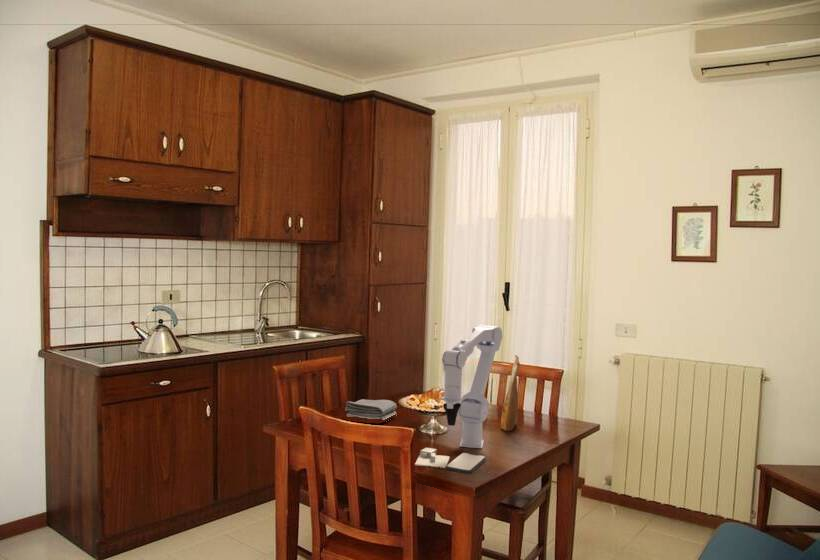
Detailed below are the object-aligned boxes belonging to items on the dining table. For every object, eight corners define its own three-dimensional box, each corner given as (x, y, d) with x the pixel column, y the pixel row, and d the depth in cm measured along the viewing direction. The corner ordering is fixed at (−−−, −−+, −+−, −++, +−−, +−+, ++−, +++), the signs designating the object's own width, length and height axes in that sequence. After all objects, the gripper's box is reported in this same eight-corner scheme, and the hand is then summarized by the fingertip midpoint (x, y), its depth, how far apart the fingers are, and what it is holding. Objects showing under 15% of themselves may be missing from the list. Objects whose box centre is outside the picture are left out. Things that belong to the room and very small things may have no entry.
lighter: (425, 452, 218) (414, 458, 210) (425, 447, 217) (415, 453, 210) (444, 455, 214) (434, 462, 207) (444, 450, 214) (434, 457, 207)
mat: (420, 454, 216) (420, 453, 216) (449, 457, 214) (449, 456, 214) (414, 465, 205) (414, 463, 205) (445, 468, 203) (445, 466, 203)
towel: (383, 426, 251) (383, 406, 251) (341, 421, 257) (342, 401, 257) (397, 417, 265) (398, 399, 265) (357, 412, 272) (358, 394, 271)
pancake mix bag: (520, 421, 265) (523, 354, 264) (516, 433, 246) (519, 361, 245) (504, 419, 267) (507, 353, 265) (498, 431, 248) (501, 360, 247)
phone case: (470, 476, 199) (486, 460, 213) (470, 471, 199) (487, 456, 213) (444, 471, 202) (462, 456, 217) (444, 466, 202) (462, 451, 217)
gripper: (443, 380, 223) (442, 418, 224) (438, 388, 209) (436, 429, 210) (464, 382, 222) (462, 420, 223) (459, 390, 208) (458, 431, 208)
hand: (451, 425), depth 216 cm, fingers closed
